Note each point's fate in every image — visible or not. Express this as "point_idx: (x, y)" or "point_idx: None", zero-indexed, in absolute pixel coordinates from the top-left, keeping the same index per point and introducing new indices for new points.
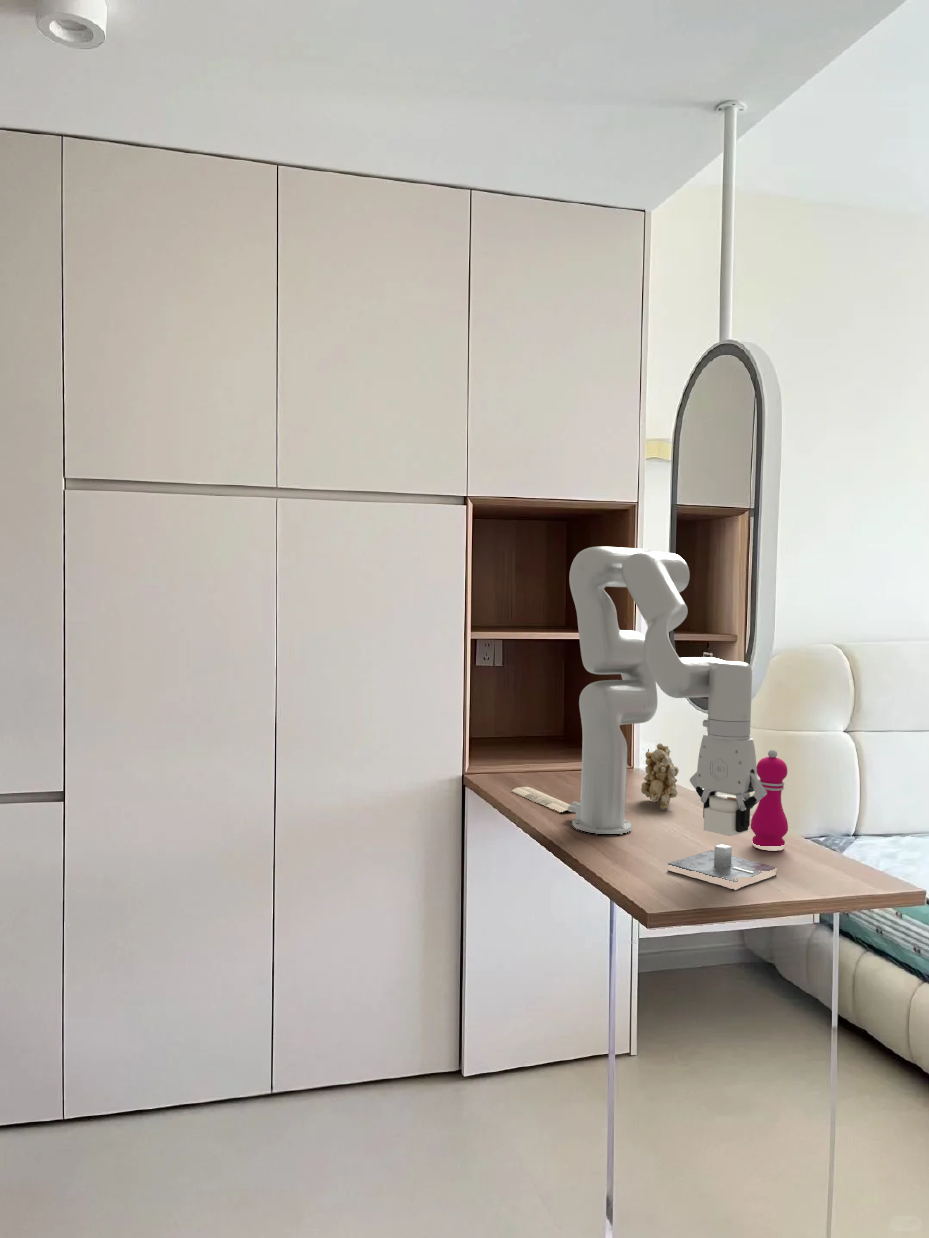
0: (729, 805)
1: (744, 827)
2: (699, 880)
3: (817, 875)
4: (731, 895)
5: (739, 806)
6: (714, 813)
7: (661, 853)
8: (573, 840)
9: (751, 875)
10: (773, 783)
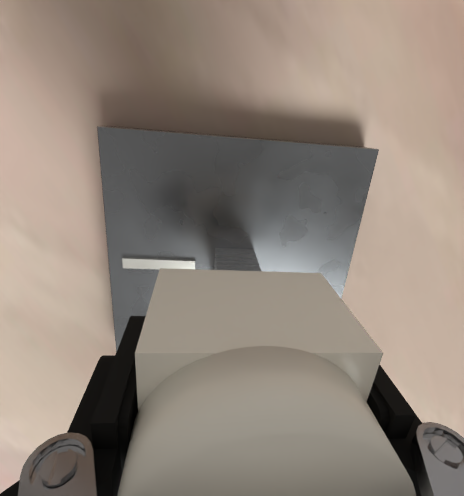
0: (163, 429)
1: (113, 356)
2: (244, 136)
3: (66, 409)
4: (81, 63)
5: (86, 464)
6: (285, 336)
7: (439, 286)
8: None
9: (113, 241)
10: None
